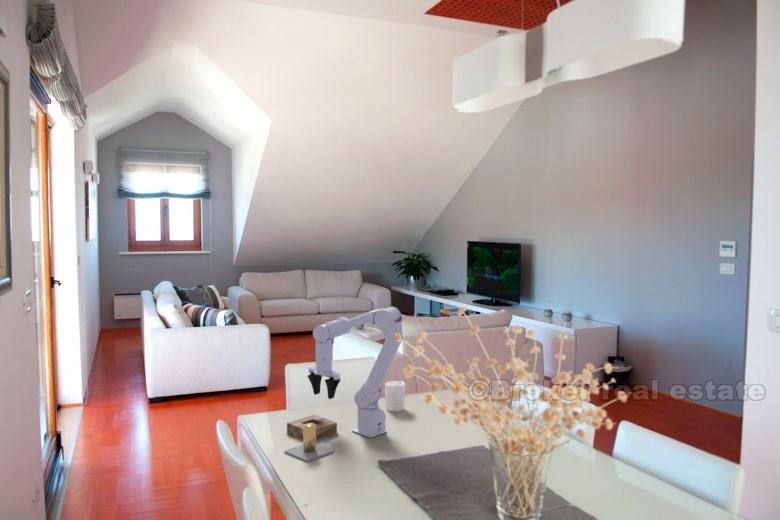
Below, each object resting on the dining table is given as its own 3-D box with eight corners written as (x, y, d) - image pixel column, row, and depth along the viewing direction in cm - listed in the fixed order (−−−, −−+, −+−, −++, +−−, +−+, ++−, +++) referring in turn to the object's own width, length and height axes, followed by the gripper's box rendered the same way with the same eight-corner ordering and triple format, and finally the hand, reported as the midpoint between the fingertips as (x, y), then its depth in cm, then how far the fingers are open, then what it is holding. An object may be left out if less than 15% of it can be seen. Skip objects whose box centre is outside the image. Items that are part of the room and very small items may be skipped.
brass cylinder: (318, 450, 189) (318, 425, 189) (309, 453, 186) (309, 428, 186) (309, 446, 192) (309, 422, 191) (300, 450, 189) (300, 425, 188)
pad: (334, 452, 189) (334, 450, 189) (307, 462, 181) (307, 460, 181) (311, 443, 197) (311, 441, 197) (284, 452, 189) (284, 450, 188)
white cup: (408, 408, 234) (409, 382, 234) (398, 413, 228) (398, 387, 227) (391, 404, 239) (391, 379, 238) (380, 410, 232) (380, 384, 231)
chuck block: (336, 432, 207) (336, 422, 207) (309, 441, 198) (309, 431, 198) (314, 424, 215) (314, 414, 215) (287, 432, 206) (287, 422, 206)
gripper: (301, 356, 215) (302, 394, 216) (329, 363, 205) (329, 402, 206) (317, 353, 220) (317, 390, 221) (344, 360, 210) (344, 398, 211)
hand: (323, 396), depth 214 cm, fingers open, 7 cm apart
